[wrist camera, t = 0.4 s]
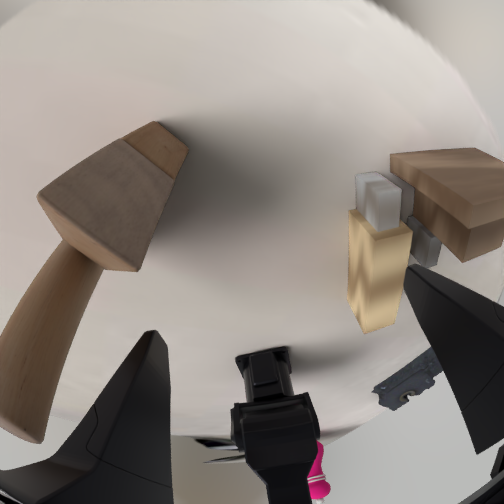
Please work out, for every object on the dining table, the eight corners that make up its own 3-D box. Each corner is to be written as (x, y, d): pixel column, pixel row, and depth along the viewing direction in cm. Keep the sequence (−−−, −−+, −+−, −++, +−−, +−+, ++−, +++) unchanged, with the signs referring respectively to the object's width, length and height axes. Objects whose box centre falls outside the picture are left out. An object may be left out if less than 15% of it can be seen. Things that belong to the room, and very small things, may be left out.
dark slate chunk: (466, 342, 44) (475, 357, 40) (391, 398, 52) (398, 414, 48) (455, 321, 38) (468, 340, 34) (363, 390, 45) (371, 410, 41)
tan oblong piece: (375, 292, 29) (394, 323, 25) (347, 300, 29) (364, 334, 25) (383, 170, 21) (416, 193, 17) (347, 176, 21) (376, 200, 17)
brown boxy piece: (463, 229, 25) (516, 279, 17) (385, 251, 26) (438, 321, 17) (474, 147, 20) (545, 187, 11) (390, 154, 20) (473, 205, 12)
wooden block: (191, 148, 18) (106, 409, 3) (115, 245, 22) (40, 450, 7) (153, 117, 17) (-66, 287, 2) (82, 221, 20) (-24, 412, 5)
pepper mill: (287, 437, 55) (301, 508, 38) (316, 428, 54) (333, 500, 37) (295, 442, 59) (309, 506, 42) (322, 434, 58) (338, 499, 41)
